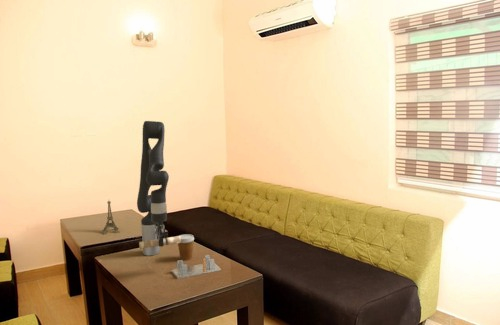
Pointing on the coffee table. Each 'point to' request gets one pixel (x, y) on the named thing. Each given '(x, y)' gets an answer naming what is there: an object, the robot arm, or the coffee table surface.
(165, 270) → the coffee table surface
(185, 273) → the white peg stand
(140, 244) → the dowel
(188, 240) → the disposable coffee cup
